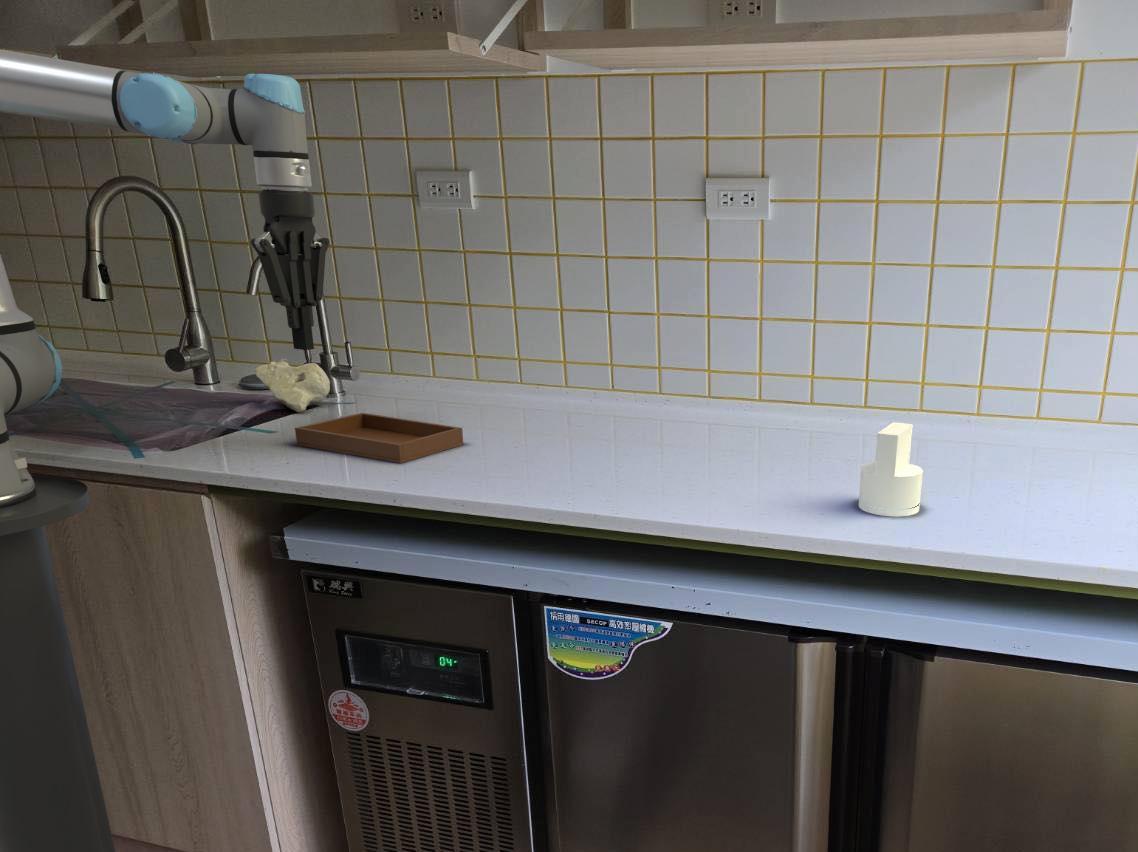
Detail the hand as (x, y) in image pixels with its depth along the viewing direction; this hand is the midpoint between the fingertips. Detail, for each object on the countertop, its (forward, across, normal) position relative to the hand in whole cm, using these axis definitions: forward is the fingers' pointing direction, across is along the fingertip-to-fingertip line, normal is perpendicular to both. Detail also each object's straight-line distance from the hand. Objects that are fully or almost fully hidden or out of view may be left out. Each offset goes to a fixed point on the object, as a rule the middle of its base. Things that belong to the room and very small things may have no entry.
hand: (303, 348), depth 154 cm
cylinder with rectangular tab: (+19, +24, -90) cm, 95 cm away
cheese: (+19, +29, +39) cm, 52 cm away
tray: (+18, +14, 0) cm, 23 cm away
